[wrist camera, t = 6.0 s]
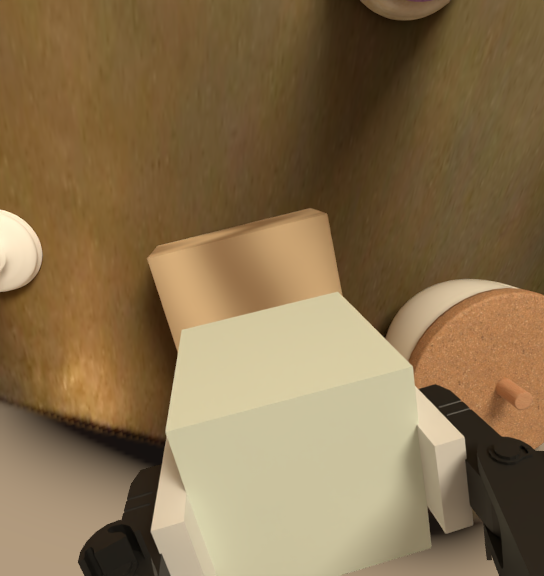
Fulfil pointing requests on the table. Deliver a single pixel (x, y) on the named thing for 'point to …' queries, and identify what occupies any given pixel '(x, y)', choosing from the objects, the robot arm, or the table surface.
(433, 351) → the lidded jar
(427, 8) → the stacking toy
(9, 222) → the chess piece
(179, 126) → the table surface
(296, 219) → the plinth
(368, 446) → the cube
